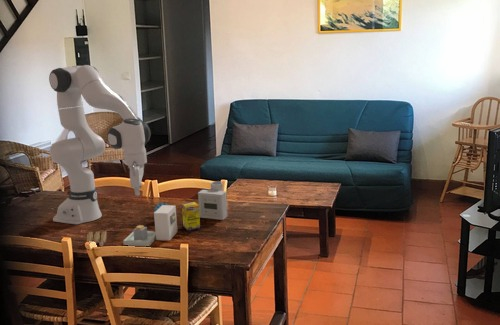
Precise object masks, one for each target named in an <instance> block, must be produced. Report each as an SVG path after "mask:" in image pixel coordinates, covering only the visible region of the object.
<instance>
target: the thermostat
mask: <svg viewBox="0 0 500 325" xmlns="http://www.w3.org/2000/svg"><path fill="white" fill-rule="evenodd" d="M197 196H198V205H199V217H200V219H201V218H203V219H211V220H219V221H220V220H221V221H223V220H225V219H226V218H228V200H227V191H224V184H223V182H222V181H212V182H210V189H201V190H200V191H198V193H197Z"/></svg>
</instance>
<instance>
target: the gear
mask: <svg viewBox="0 0 500 325" xmlns="http://www.w3.org/2000/svg"><path fill="white" fill-rule="evenodd" d="M162 205H169V204H168V203H166V202H165V203H163V202H160V203H159V204H158V203H157V205H156V206H155V208H154V212H156V211H157V210H158V209H159V208H160V207H161V206H162Z"/></svg>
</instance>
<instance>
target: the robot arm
mask: <svg viewBox="0 0 500 325" xmlns="http://www.w3.org/2000/svg"><path fill="white" fill-rule="evenodd" d="M48 76H49V77H48V81H49V85H50V87H51V89H53V91H54V92H56V103H57V104H56V105H57V109H58V110H57V112H58V116H59V120H60V124H61V125H60V126H62V127H63V129H65V130H67V131H70V132H72V133H73V134H74V137H71V138H66V139H61V140H59V141H56V142H53V143H52V144H51V146H50V147H49V148H50V149H49V156H50V158H51V160H52V161H53V162H54V163H55V164H57V165H59V166H60V167H62V168H63V169H64V171H65V173H66V174H67V177H68V181H69V187H70V188H69V189H70V190H67V192H66V193H65V194H66V196H68V197H67V198H66V199H65V200H64V201H63V202H62V203H60V204H59V206H58V207H57V211H56V212H57V213H56V214H55V215H54V216H53V218H52V222H56V223H64V224H71V225H79V224H80V225H81V224H84V223H89V222H93V221H95V220H98V219H100V218H101V217H102V215H103V214H102V211H101V209H100V206H99V203H98V194H97V188H96V184H95V182H96V181H95V175H94V171H93V170H91V169H90V168H89V167H85V166H82V163H81V162H82V161H86V160H87V161H88V160H91V159H95V158H97V157H100V156H102V155H104V152H105V150H106V143H105V139H103V137H101V136H100V135H98V134H96V133H95V132H94V131H93V130H92V129H91V127H90V125H89V124H88V121H87V117H86V114H85V108H84V102H83V99H84V100H85V102H86V103H87V104H88V106H90V107H92V108H95V109H100V110H107V111H112V112H115V113H117V114H118V115H119V116H120V117H121V118H122V119H123V120H122V122H121V123H120V124H118V125H115V126H112V127H110V128H109V129H108V131H107V134H106V135H107V136H106V138H107V143H108V145H109V146H110V147H111V148H112V149H114V150H123V157H124V158H123V159H124V165H126V166H128V167H127V168H128V169H129V181H130V182H129V183H130V187H131V188H133V190H134V195H135V196H140V194H141V191H140V190H141V189H142V179H143V176H144V172H145V171H144V170H145V164H147V163H148V159H147V158H148V156H147V149H146V147H145V146H146V144H147V143H149V141H150V138H151V134H152V133H151V129H150V127H149V126H148V124H146V122H145V121H143V119H141V118H140V117H139V116H138V115H137V113H136V112H135V111H134V109H133V108H132V107H131V106H130V105H129V103H128V102H127V101H126V100H125V98H124V97H123V96H122V95H120V94H118V93H116V91H114V90H113V89H111V88H110V87H109V86H108V85H107V83H106V82H105V80H104V78H103V77H102V76H101V74H100V73H99V70H98V69H97V68H96V67H95V66H92V65H89V64H84V65H72V66H66V67H58V68H55V69H52V70H51V72H50V73H49V75H48Z"/></svg>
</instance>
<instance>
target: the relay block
mask: <svg viewBox="0 0 500 325" xmlns="http://www.w3.org/2000/svg"><path fill="white" fill-rule="evenodd" d="M147 231H148V228H147V226H145V225H139V224H138V225H137V226H136V227H135V228H133V229H132V232H134V240H141V241H144V240H146V239H147V238H148V236H147Z"/></svg>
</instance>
